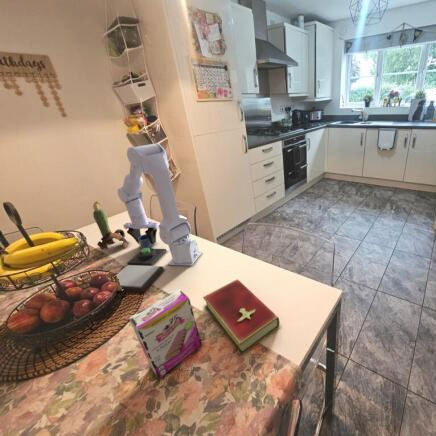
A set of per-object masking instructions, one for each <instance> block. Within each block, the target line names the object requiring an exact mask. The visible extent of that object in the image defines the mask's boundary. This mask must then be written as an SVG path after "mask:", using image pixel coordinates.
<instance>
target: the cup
mask: <svg viewBox="0 0 436 436" xmlns="http://www.w3.org/2000/svg"><path fill="white" fill-rule="evenodd" d="M138 242H139V244H138V245H139V247H140V249H141V250H142V249H143V248H153V247H154V246H155V245H156V242H155V243H154V244H151V242H150V239H149V237H148V235H147V234H146V233H144V234H141V236H140V237H138Z"/></svg>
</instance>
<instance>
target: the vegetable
mask: <svg viewBox="0 0 436 436" xmlns="http://www.w3.org/2000/svg"><path fill="white" fill-rule="evenodd" d="M99 205H100V203H99V201H98V200H95V201H94V202H93V205H92V208H93V210H94V211H92V212H93V213H92V216H93V219H94V221H95V223H96V225H97V227H98V229H99V231H100V234H101V236H102V237H103V236H104V235H106V234H107V233H108V232H112V230H111V229H110V226H109V220H108V216H107V213H106V211H105V210H104V209H102V208H100V206H99Z"/></svg>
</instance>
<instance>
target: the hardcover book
mask: <svg viewBox="0 0 436 436" xmlns="http://www.w3.org/2000/svg"><path fill="white" fill-rule="evenodd" d="M202 298H203V300H204V301H205V302H206V305H205V306H204V307H205V308H206V310H207V311H208V312H209V313H210V315H211V316H212V318H213V319H214V320H215V321H216V323H217V325H218V326H219V327H220V328H221V329H222V331H223V333H225V335H226V336H227V338H228V339H229V340H230V341H231V343H232V344H233V345H234V347H235V348H236V349H237V350H238V352H239V353H240V355H243V354H245V353H246V352H247V351H249V350H250V349H252V348H253V347H254V346H256V345H257V344H258V343H260V342H261V341H262V340H264V339H265V338H266V337H268V336H269V335H270V334H272V333H273V332H275V331H276V330H277V329H279V327H280V317H279V316H278V315H277V314H276V313H274V312H273V311H272V310H271V309H270V308H269V307H268V306H267V305H266V304H265V303H264V302H263V301H261V299H260V298H258V297H257V296H256V295H255V294H254V293H253V292H252V291H251V290H250V289H249V288H248V287H247V286H245V284H243V283H242V282H241V280H239V279H238V278H236V279H234V280H232V281H231V282H229V283H227V284H225V285H223V286H221V287H220V288H217V289H215V290H213V291H211V292H210V293H208V294H206V295H203V296H202Z"/></svg>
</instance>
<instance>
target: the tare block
mask: <svg viewBox="0 0 436 436" xmlns="http://www.w3.org/2000/svg"><path fill="white" fill-rule="evenodd" d="M143 249H144V248H143ZM149 249H150V253H148V254H146V255H142V253H141V250H140V251H138V253H137V254H135V255H134V256H133V257H132V258H130V259H129V260H128V261H127V262H126V264H127V265H137V266H155V264H156V263H158V261H159V260H160V259H161V258H162V257H163V256H164V255H165V254H166V253H167V251H168V250H167V249H166V248H153V247H151V248H149Z"/></svg>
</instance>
